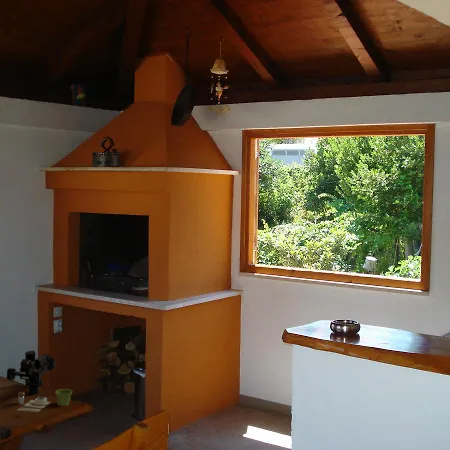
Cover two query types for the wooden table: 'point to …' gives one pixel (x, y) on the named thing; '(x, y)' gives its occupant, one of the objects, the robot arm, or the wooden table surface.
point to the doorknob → (21, 397)
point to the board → (33, 406)
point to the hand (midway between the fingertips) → (17, 380)
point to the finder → (40, 401)
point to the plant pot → (63, 397)
